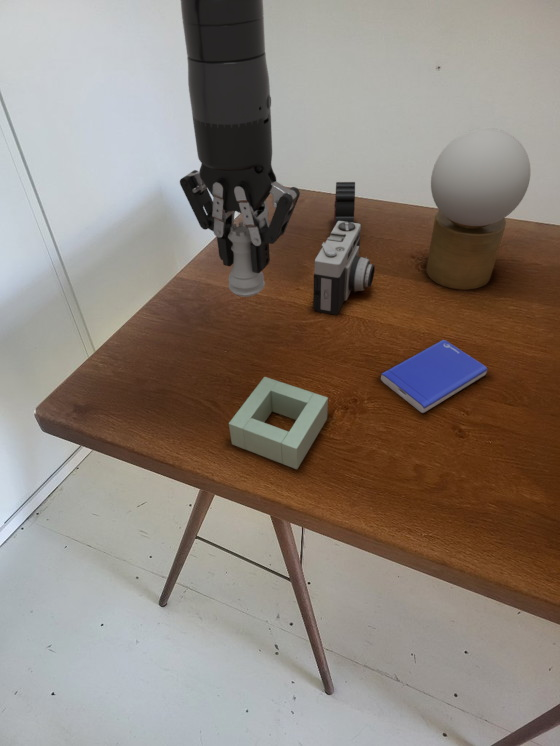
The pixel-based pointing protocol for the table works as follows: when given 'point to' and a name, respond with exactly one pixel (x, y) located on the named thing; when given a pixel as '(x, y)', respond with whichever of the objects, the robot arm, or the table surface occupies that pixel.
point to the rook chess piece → (243, 264)
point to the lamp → (474, 204)
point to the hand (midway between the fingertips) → (245, 265)
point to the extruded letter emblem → (344, 202)
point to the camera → (340, 268)
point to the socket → (273, 440)
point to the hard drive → (433, 375)
